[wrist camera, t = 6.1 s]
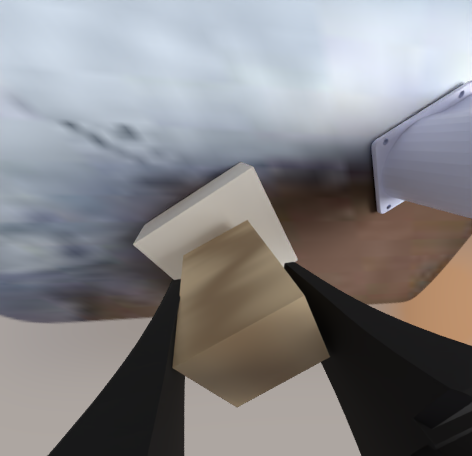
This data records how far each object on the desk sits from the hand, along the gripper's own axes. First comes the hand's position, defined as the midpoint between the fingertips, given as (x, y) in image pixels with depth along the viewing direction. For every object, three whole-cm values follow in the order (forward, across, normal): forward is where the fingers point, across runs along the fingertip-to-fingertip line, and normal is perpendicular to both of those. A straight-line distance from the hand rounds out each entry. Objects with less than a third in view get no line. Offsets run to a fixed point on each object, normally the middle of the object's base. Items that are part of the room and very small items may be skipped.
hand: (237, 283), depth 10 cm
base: (+6, 0, 0) cm, 6 cm away
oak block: (+2, 0, 0) cm, 2 cm away
